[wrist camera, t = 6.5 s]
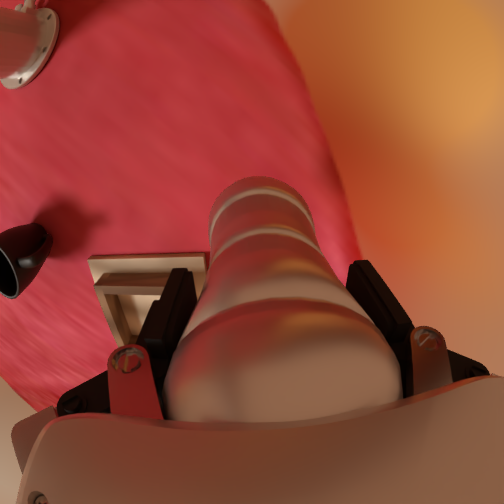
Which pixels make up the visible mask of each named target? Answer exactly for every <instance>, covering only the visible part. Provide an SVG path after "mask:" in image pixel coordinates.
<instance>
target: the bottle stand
mask: <svg viewBox="0 0 504 504" xmlns="http://www.w3.org/2000/svg"><path fill="white" fill-rule="evenodd" d="M87 260H88V263H89V267H90V270H91V273H92V276H93V279H94V282H95V284H94V285H93V286H94V289H95V291H96V294H97V297H98V300H99V302H100V305H101V307H102V310H103V313H104V315H105V318H106V320H107V322H108V325H109V327H110V330H111V332H112V334H113V336H114V339H115V341H116V343H117V345H118V347H121V346H124V345H128V344H135V343H136V341H137V338H138V336H139V333H140V331H141V328H142V326H143V323H144V321H145V319H146V316H147V314H148V311H149V309H150V307H151V304H152V302H153V301H154V300H159V299H160V297H161V294H162V292H163V290H164V287H165V285H166V282H167V280H168V278H169V275H170V273H171V271H172V269H173V268H187V269H188V271H192V273H193V278H194V284H195V289H196V295H197V301H198V299H199V297H200V294H201V291H202V288H203V284H204V281H205V278H206V274H207V268H206V260H205V253H177V254H144V255H111V256H90V257H89V258H88V259H87Z"/></svg>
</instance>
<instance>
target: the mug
mask: <svg viewBox="0 0 504 504" xmlns="http://www.w3.org/2000/svg"><path fill="white" fill-rule="evenodd" d="M52 243H53V240H52V236H51V235H50V234H47V232H46V230H45V229H44V228H43V227H42V226H41V225H39V224H37V223H32V224H27V225H21V226H17V227H13V228H11V229H8V230H6V231H4V232H2V233H0V293H1V294H2V295H4V296H5V297H7V298H9V299H14V298H16V297H18V296H19V295H20V294H21V293H22V292H23V290H24V289H25V288H26V287H27V286H28V285H29V284H30V283H31V282H32V281H33V279H34V278H35V277H36V275H37V274H38V272H39V270H40V269H41V267H42V265H43V263H44V262H45V260H46V258H47V256H48V255H49V253H50V250H51V247H52Z"/></svg>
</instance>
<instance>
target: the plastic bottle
mask: <svg viewBox="0 0 504 504" xmlns="http://www.w3.org/2000/svg"><path fill="white" fill-rule="evenodd" d="M208 234H209V242H210V247H211V248H210V265H209V268H208V271H207V274H206V278H205V281H204V284H203V288H202V291H201V294H200V297H199V299H198V301H197V303H196V305H195V307H194V309H193V312H192V314H191V316H190V318H189V320H188V322H187V325H186V327H185V329H184V331H183V333H182V336H181V338H180V340H179V342H178V344H177V348H176V350H175V351H174V353H173V355H172V359H171V362H170V365H169V368H168V371H167V374H166V377H165V380H164V385H163V390H162V396H163V404H164V411H165V416H166V420H173V421H186V422H205V423H254V422H286V421H297V420H306V419H313V418H320V417H325V416H330V415H335V414H339V413H345V412H350V411H355V410H360V409H365V408H370V407H374V406H378V405H382V404H386V403H390V402H394V401H397V400H401V399H403V389H402V380H401V371H400V364H399V362H398V360H397V358H396V356H395V354H394V352H393V350H392V349H391V347H390V346H389V344H388V343H387V341H386V339H385V338H384V336H383V334H382V333H381V331H380V330H379V329H378V328H377V327H376V326H375V324H374V322H373V321H372V320H371V319H370V317H369V316H368V315H367V314H366V312H365V311H364V310H363V309H362V307H361V306H360V305H359V304H358V302H357V301H356V300H355V299H354V297H353V296H352V295H351V294H350V293H349V291H348V290H347V289H346V288H345V286H344V285H343V284H342V283H341V282H340V280H339V279H338V278H337V276H336V274H335V273H334V271H333V270H332V268H331V266H330V265H329V263H328V262H327V260H326V259H325V257H324V255H323V254H322V252H321V250H320V247H319V244H318V241H317V239H316V236H315V228H314V222H313V219H312V215H311V212H310V210H309V207H308V205H307V203H306V202H305V200H304V199H303V197H302V196H301V195H300V194H299V193H298V192H297V191H296V190H295V189H294V188H292V187H291V186H289V185H288V184H286V183H284V182H282V181H279V180H277V179H274V178H271V177H266V176H251V177H247V178H243V179H241V180H238V181H236V182H234V183H233V184H232V185H230V186H229V187H227V188H226V189H225V190H224V191H223V192H222V193H221V194H220V195H219V196H218V197H217V199H216V201H215V202H214V204H213V206H212V208H211V212H210V215H209V224H208Z"/></svg>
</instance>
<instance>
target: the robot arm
mask: <svg viewBox="0 0 504 504" xmlns="http://www.w3.org/2000/svg"><path fill="white" fill-rule="evenodd" d="M35 1H36V0H25V1H24V7H23V4H19V5H17V6H16V7H15V10H12V9H8V8H3V7H0V80H1V83H2V84H3V86H5V87H6V88H8V89H18V88H21V87H23V86H25V85H27V84H28V83H29V82H31V81H32V80H33V79H34V78H35V77H36V76H37V74H38V73H39V72H40V71H41V69H42V68H43V66H44V65H45V63H46V62H47V60H48V58H49V56H50V55H51V53H52V50H53V48H54V46H55V43H56V40H57V37H58V32H59V17H58V15H57V13H56V12H55V11H54V10H52V9H49V8H40V9H37V10H36V5H35ZM346 289H347V290H348V291H349V293H350V294H351V295H352V296H353V297H354V299H355V300H356V301H357V302H358V304H359V305H360V306H361V307H362V309H363V310H364V311H365V312H366V314H367V315H368V316H369V317H370V319H371V320H372V321H373V322H374V324H375V326H376V327H377V328H378V329H379V330H380V331H381V333H382V334H383V336H384V338H385V339H386V341H387V343H388V344H389V346H390V347H391V349H392V350H393V352H394V354H395V356H396V358H397V360H398V362H399V364H400V371H401V380H402V389H403V399H401V400H397V401H394V402H390V403H386V404H382V405H378V406H374V407H370V408H365V409H360V410H355V411H350V412H345V413H339V414H335V415H330V416H325V417H320V418H313V419H306V420H297V421H286V422H254V423H205V422H186V421H173V420H166V416H165V411H164V404H163V396H162V390H163V385H164V380H165V377H166V374H167V371H168V368H169V365H170V362H171V359H172V355H173V353H174V351H175V350H176V348H177V344H178V342H179V340H180V338H181V336H182V333H183V331H184V329H185V327H186V325H187V322H188V320H189V318H190V316H191V314H192V312H193V309H194V307H195V305H196V303H197V295H196V289H195V284H194V278H193V273H192V271H188V269H187V268H173V269H172V271H171V273H170V275H169V278H168V280H167V282H166V285H165V287H164V290H163V292H162V294H161V297H160V299H159V300H154V301H153V302H152V304H151V307H150V309H149V311H148V314H147V316H146V319H145V321H144V323H143V326H142V328H141V331H140V333H139V336H138V338H137V341H136V343H135V344H128V345H124V346H121V347H119V348H117V349H116V350H114V351H113V352H112V353H111V355H110V357H109V358H108V363H107V367H108V370H107V371H105V372H103V373H101V374H99V375H97V376H96V377H94V378H92V379H90V380H88V381H86V382H84V383H82V384H81V385H79V386H77V387H75V388H73V389H71V390H69V391H67V392H66V393H64V394H63V395H62V396H61V397H60V399H59V401H58V403H57V407H55V408H54V407H53V406H50V407H48V408H46V409H44V410H42V411H40V412H38V413H36V414H34V415H32V416H30V417H28V418H26V419H24V420H21V421H20V422H18V423H17V424H15V426H14V427H13V430H12V433H11V438H12V443H13V446H14V450H15V453H16V457H17V459H18V463H19V466H20V469H21V472H22V474H23V476H22V479H21V483H20V487H19V492H18V496H17V502H16V504H504V377H502V376H498V375H495V374H493V373H492V374H491V375H490V374H489V371H488V370H487V368H486V367H485V366H484V365H483V364H481V363H479V362H477V361H475V360H472V359H470V358H467V357H465V356H462V355H460V354H457V353H455V352H453V351H450V350H448V349H447V347H446V342H445V340H444V337H443V335H442V334H441V333H440V332H438V331H437V330H436V329H434V328H432V327H428V326H419V327H416V328H415V327H414V325H413V324H412V321H411V320H410V318H409V317H408V315H407V314H406V312H405V310H404V309H403V308H402V306H401V305H400V303H399V302H398V300H397V299H396V297H395V296H394V295H393V293H392V292H391V291H390V289H389V287H388V286H387V285H386V283H385V282H384V281H383V279H382V278H381V276H380V275H379V274H378V273H377V271H376V270H375V268H374V267H373V266H372V264H371V263H370V262H369V261H368V260H356V261H354V263H353V264H350V266H349V271H348V277H347V282H346Z"/></svg>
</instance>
